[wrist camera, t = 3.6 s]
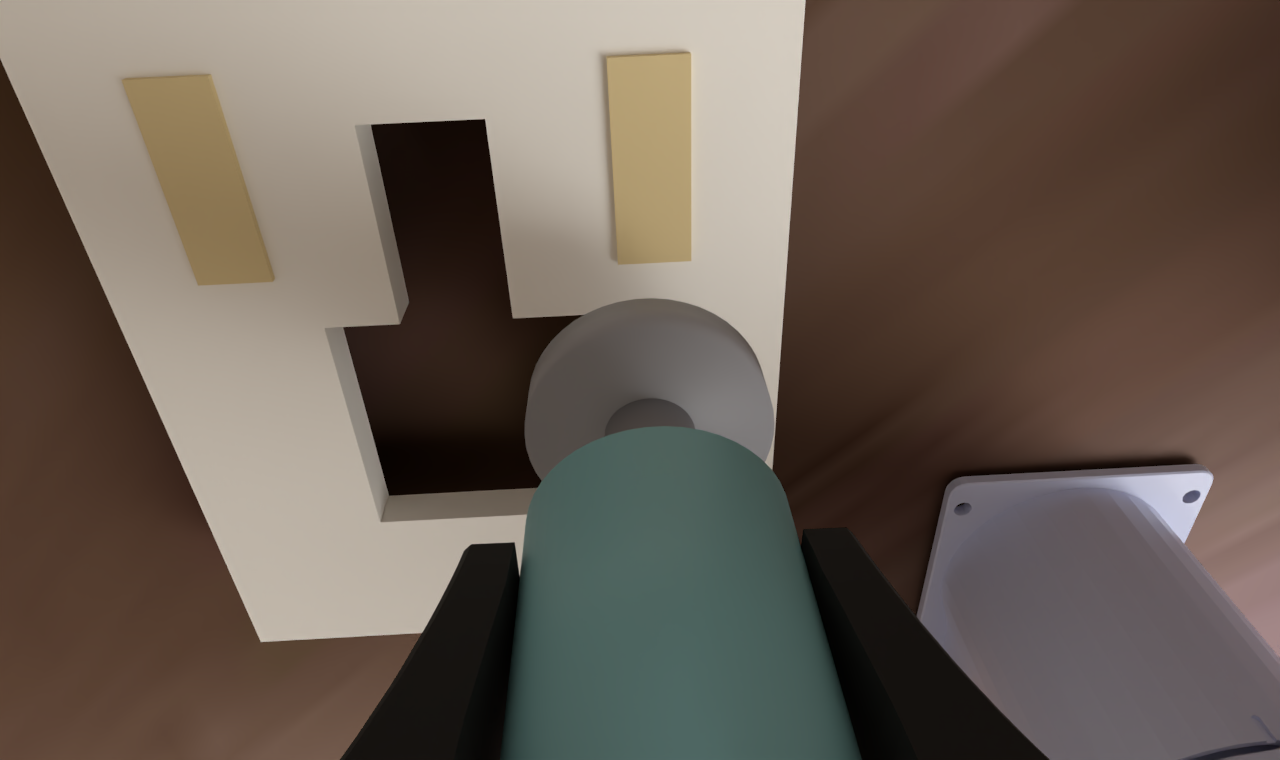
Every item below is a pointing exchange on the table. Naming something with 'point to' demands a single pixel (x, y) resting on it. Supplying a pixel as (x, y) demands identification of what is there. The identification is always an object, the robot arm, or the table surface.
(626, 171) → the board
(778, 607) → the peg
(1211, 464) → the table surface
